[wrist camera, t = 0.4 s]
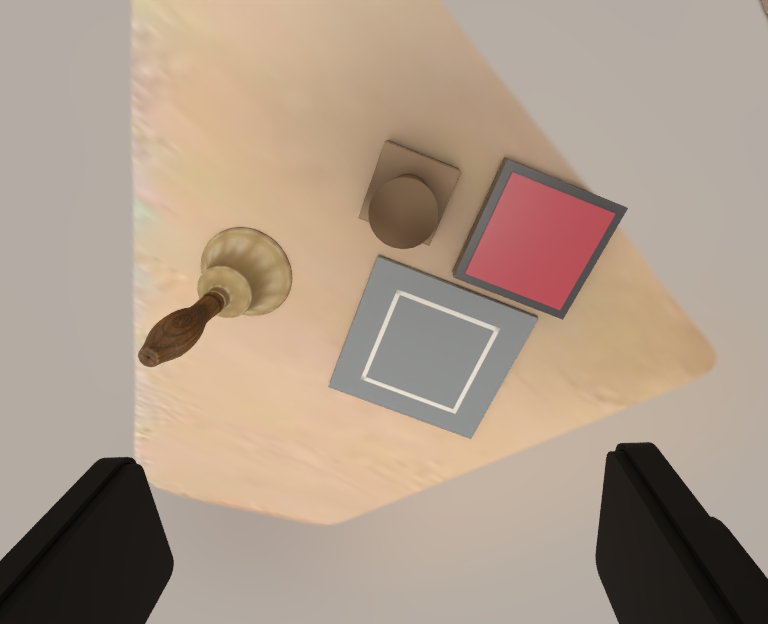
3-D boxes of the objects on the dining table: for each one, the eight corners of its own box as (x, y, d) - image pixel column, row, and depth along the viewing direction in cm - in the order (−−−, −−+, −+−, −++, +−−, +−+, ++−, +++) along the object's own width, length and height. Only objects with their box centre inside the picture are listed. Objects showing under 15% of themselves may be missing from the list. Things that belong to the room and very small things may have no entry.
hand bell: (295, 316, 43) (227, 417, 28) (209, 313, 43) (98, 411, 29) (288, 227, 40) (207, 289, 25) (195, 226, 40) (62, 285, 26)
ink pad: (504, 157, 36) (507, 159, 34) (619, 204, 37) (629, 208, 35) (452, 271, 40) (453, 277, 38) (557, 312, 40) (563, 320, 39)
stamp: (388, 140, 36) (373, 146, 26) (458, 168, 37) (469, 185, 27) (362, 211, 39) (340, 242, 29) (429, 237, 39) (430, 276, 29)
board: (378, 254, 40) (377, 256, 39) (536, 316, 41) (538, 318, 40) (329, 383, 45) (328, 387, 45) (470, 435, 46) (471, 439, 45)
